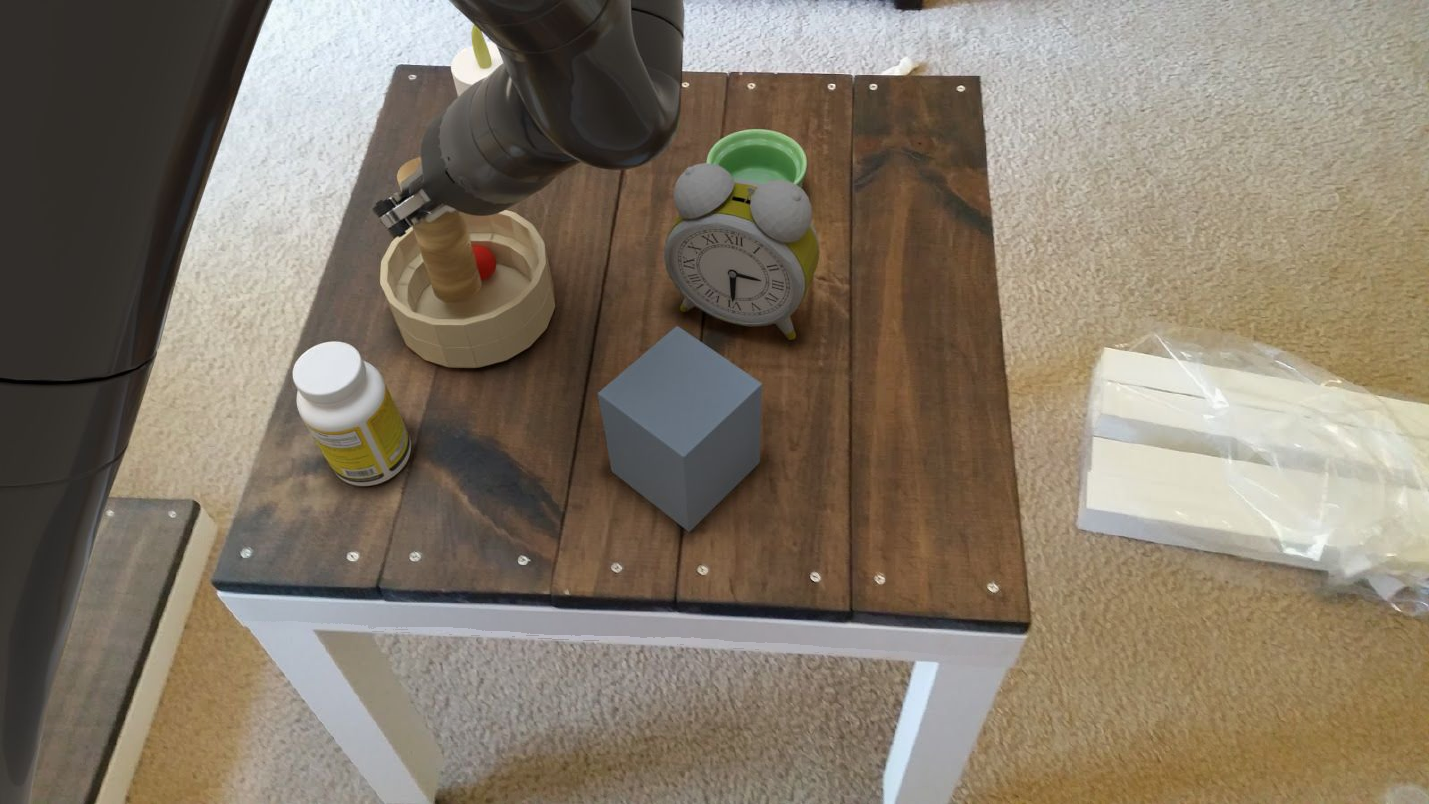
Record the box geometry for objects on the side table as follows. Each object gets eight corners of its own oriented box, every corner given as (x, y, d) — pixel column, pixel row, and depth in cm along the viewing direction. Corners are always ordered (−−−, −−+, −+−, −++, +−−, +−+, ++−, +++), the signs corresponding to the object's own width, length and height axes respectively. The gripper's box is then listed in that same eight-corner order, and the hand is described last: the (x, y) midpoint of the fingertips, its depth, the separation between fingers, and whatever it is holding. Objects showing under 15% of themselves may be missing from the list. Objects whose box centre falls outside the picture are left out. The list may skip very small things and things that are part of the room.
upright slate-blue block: (689, 532, 76) (683, 457, 68) (611, 471, 79) (597, 393, 71) (760, 462, 80) (762, 383, 72) (682, 407, 83) (676, 324, 75)
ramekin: (758, 152, 101) (759, 115, 97) (825, 200, 96) (828, 163, 93) (687, 195, 97) (685, 158, 94) (753, 247, 93) (753, 211, 90)
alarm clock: (665, 320, 88) (654, 186, 76) (694, 264, 92) (687, 127, 80) (798, 356, 86) (808, 222, 74) (821, 297, 90) (835, 160, 77)
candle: (541, 131, 103) (515, -7, 91) (539, 176, 99) (512, 38, 87) (477, 135, 103) (442, -3, 91) (472, 180, 99) (436, 42, 87)
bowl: (470, 400, 84) (453, 352, 79) (367, 317, 89) (346, 268, 84) (588, 305, 89) (580, 256, 85) (484, 232, 95) (471, 182, 90)
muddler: (453, 311, 86) (418, 197, 76) (423, 287, 87) (385, 174, 78) (491, 285, 87) (462, 171, 78) (461, 262, 89) (428, 148, 80)
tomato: (478, 292, 89) (472, 265, 87) (456, 277, 91) (449, 250, 89) (505, 276, 91) (500, 248, 89) (483, 261, 92) (477, 234, 90)
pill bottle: (389, 409, 83) (347, 317, 74) (427, 459, 80) (388, 371, 71) (317, 450, 81) (265, 361, 72) (354, 503, 78) (304, 418, 69)
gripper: (544, 42, 70) (458, 115, 84) (372, 149, 63) (312, 209, 78) (608, 140, 72) (514, 195, 86) (449, 253, 65) (376, 292, 80)
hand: (419, 201), depth 82 cm, fingers closed on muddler, 4 cm apart
